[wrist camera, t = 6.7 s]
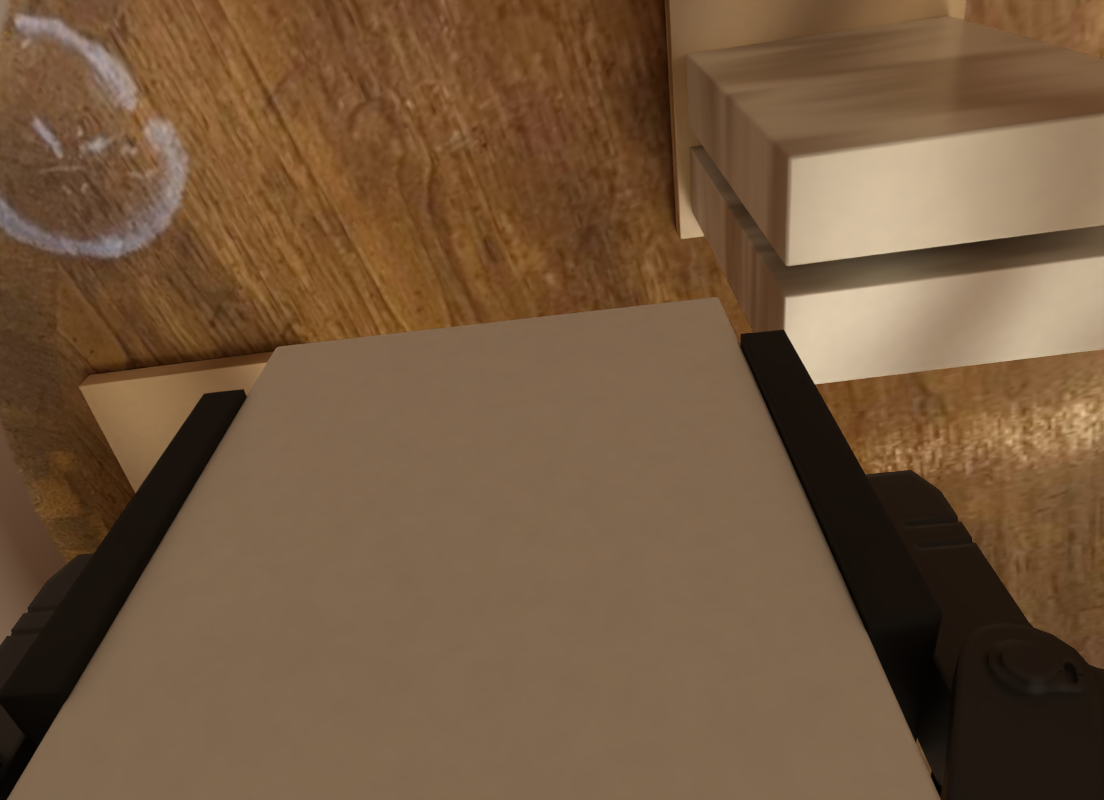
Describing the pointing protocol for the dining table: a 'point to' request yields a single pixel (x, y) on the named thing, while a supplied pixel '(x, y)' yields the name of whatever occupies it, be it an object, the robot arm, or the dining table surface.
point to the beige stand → (891, 180)
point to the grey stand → (159, 404)
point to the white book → (492, 589)
